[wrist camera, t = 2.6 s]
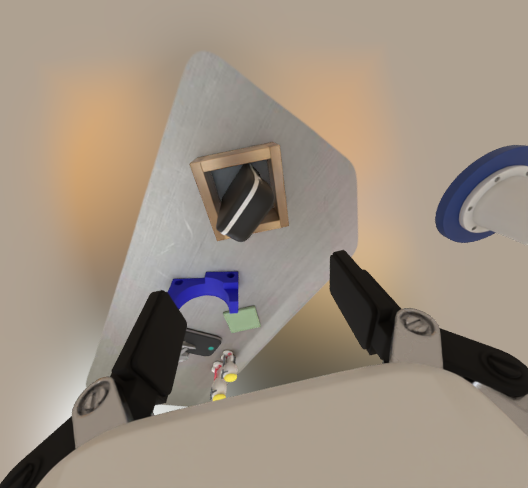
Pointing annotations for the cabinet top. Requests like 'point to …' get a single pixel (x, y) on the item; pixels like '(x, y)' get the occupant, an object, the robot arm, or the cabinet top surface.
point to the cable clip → (207, 288)
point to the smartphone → (201, 343)
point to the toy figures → (223, 375)
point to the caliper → (183, 353)
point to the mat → (242, 319)
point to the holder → (237, 157)
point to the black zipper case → (244, 204)
